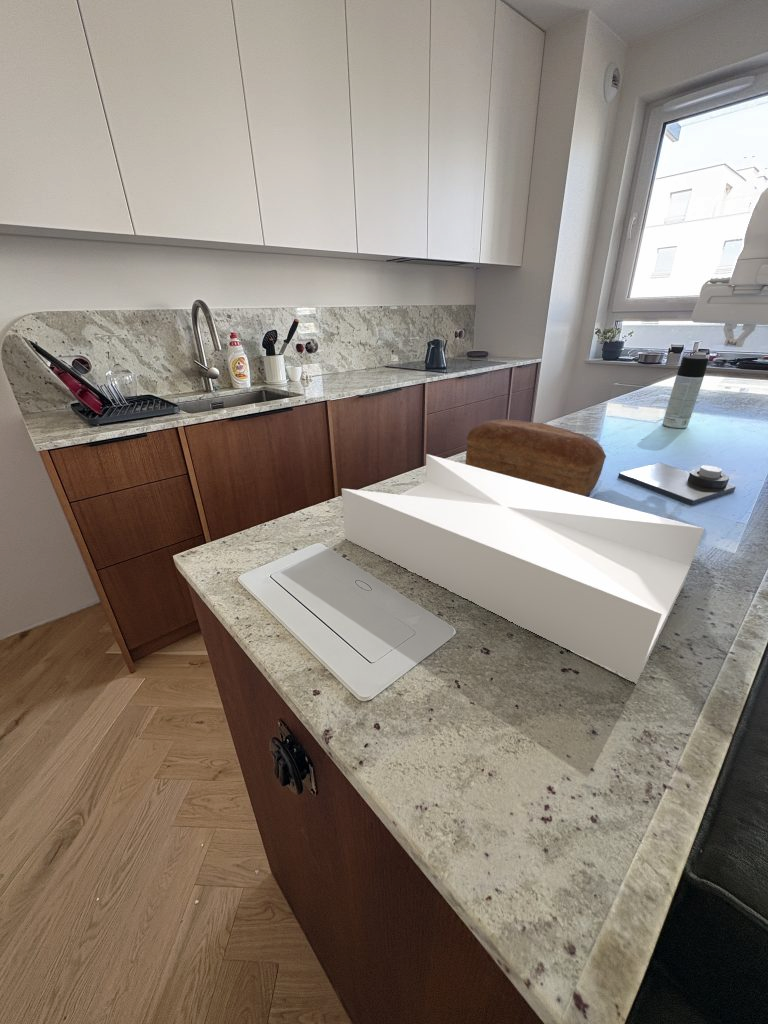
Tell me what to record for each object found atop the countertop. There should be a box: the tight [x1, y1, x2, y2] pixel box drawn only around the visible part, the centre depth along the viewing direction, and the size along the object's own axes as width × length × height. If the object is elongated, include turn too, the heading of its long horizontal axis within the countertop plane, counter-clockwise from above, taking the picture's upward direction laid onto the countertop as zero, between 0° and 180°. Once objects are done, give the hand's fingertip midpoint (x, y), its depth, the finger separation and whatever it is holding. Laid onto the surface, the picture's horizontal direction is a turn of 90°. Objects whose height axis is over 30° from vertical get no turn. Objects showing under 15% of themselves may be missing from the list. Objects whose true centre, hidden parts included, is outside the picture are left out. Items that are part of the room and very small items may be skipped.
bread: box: [465, 418, 607, 497], centre depth 90 cm, size 14×28×12 cm, turn 46°
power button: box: [699, 465, 723, 479], centre depth 86 cm, size 4×4×2 cm
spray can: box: [662, 355, 709, 429], centre depth 124 cm, size 7×7×20 cm
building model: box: [341, 453, 705, 684], centre depth 63 cm, size 45×22×10 cm, turn 47°
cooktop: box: [617, 462, 737, 507], centre depth 89 cm, size 16×14×3 cm
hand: (732, 346), depth 94 cm, fingers closed
